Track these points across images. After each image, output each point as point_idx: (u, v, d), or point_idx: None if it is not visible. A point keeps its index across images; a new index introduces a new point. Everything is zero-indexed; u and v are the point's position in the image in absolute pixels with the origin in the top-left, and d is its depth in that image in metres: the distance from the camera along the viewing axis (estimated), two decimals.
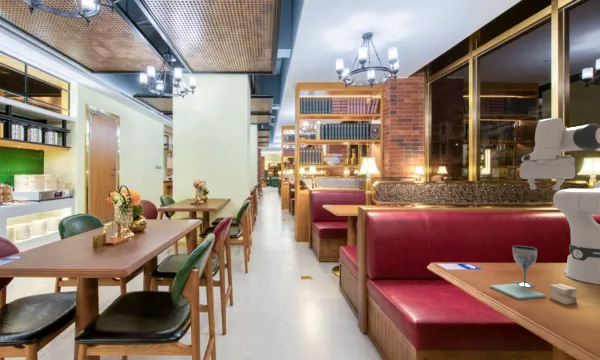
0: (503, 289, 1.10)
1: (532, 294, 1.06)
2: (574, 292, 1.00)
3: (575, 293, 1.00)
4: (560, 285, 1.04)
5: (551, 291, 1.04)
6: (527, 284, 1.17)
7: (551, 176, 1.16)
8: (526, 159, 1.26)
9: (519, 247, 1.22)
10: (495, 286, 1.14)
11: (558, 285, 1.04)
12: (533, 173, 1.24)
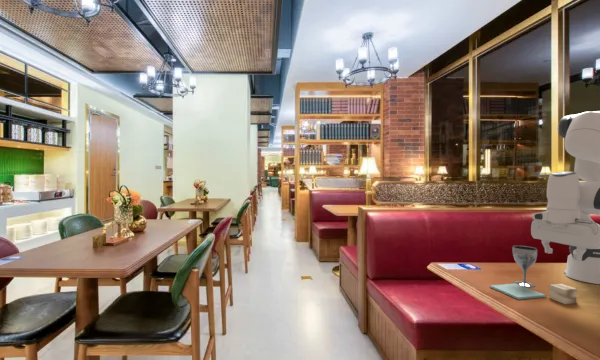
0: (503, 289, 1.10)
1: (532, 294, 1.06)
2: (574, 292, 1.00)
3: (575, 293, 1.00)
4: (560, 285, 1.04)
5: (551, 291, 1.04)
6: (527, 284, 1.17)
7: (570, 243, 0.98)
8: (538, 218, 1.08)
9: (519, 247, 1.22)
10: (495, 286, 1.14)
11: (558, 285, 1.04)
12: (548, 236, 1.05)
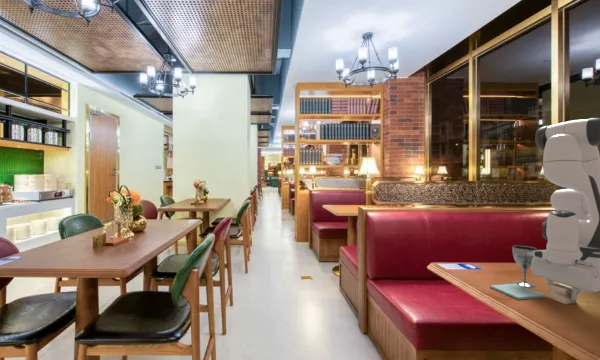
0: (503, 289, 1.10)
1: (532, 294, 1.06)
2: None
3: None
4: (560, 285, 1.04)
5: (551, 291, 1.04)
6: (527, 284, 1.17)
7: (571, 285, 0.98)
8: (538, 256, 1.08)
9: (519, 247, 1.22)
10: (495, 286, 1.14)
11: (558, 284, 1.04)
12: (548, 274, 1.05)
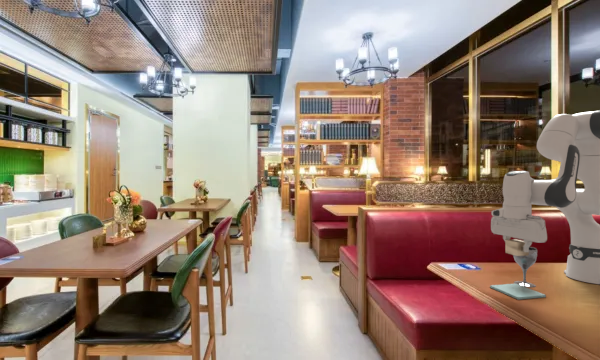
0: (503, 289, 1.10)
1: (532, 294, 1.06)
2: None
3: None
4: (515, 240, 1.11)
5: (506, 246, 1.11)
6: (527, 284, 1.17)
7: (522, 238, 1.06)
8: (496, 214, 1.15)
9: None
10: (495, 286, 1.14)
11: (513, 240, 1.11)
12: (504, 231, 1.13)
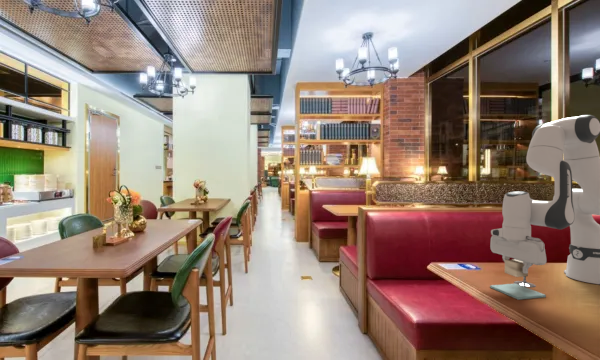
0: (503, 289, 1.10)
1: (532, 294, 1.06)
2: None
3: None
4: (514, 260, 1.11)
5: (506, 266, 1.11)
6: (527, 284, 1.17)
7: (522, 259, 1.06)
8: (495, 234, 1.15)
9: None
10: (495, 286, 1.14)
11: (512, 260, 1.11)
12: (504, 251, 1.13)
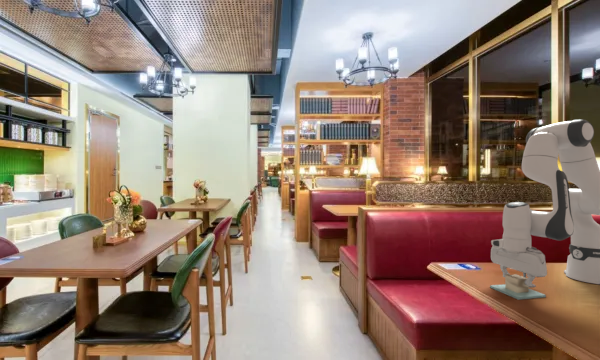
0: (503, 289, 1.10)
1: (532, 294, 1.06)
2: None
3: None
4: (515, 275, 1.11)
5: (506, 281, 1.11)
6: None
7: (522, 270, 1.06)
8: (496, 244, 1.15)
9: None
10: (495, 286, 1.14)
11: (513, 275, 1.11)
12: (504, 262, 1.13)
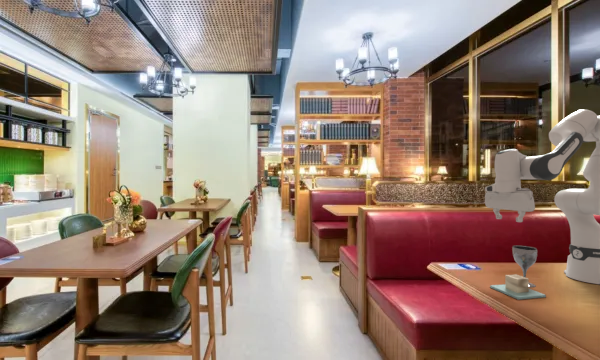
0: (503, 289, 1.10)
1: (532, 294, 1.06)
2: (526, 281, 1.08)
3: (527, 282, 1.08)
4: (515, 275, 1.11)
5: (506, 281, 1.11)
6: None
7: (513, 209, 1.18)
8: (489, 190, 1.27)
9: (519, 247, 1.22)
10: (495, 286, 1.14)
11: (513, 275, 1.11)
12: (497, 204, 1.25)
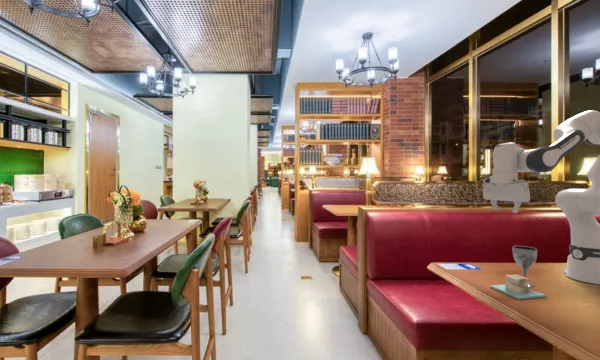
0: (503, 289, 1.10)
1: (532, 294, 1.06)
2: (526, 281, 1.08)
3: (527, 282, 1.08)
4: (515, 275, 1.11)
5: (506, 281, 1.11)
6: None
7: (509, 199, 1.22)
8: (487, 182, 1.31)
9: (519, 247, 1.22)
10: (495, 286, 1.14)
11: (513, 275, 1.11)
12: (494, 196, 1.29)
